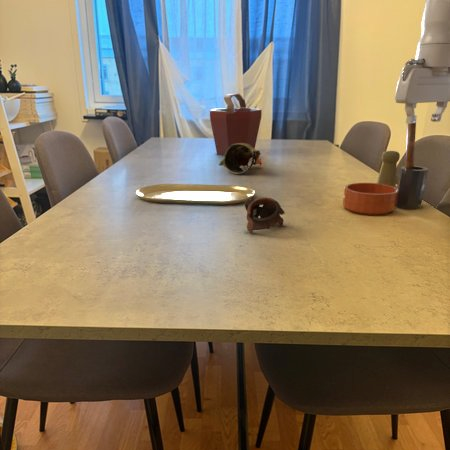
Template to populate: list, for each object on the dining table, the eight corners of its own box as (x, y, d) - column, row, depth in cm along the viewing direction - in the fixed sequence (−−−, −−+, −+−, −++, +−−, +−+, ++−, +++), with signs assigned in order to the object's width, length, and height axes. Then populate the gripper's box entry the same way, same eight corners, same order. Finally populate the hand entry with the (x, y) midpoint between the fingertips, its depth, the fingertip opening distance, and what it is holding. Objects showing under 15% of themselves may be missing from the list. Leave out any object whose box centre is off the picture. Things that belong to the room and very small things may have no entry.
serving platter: (147, 188, 138) (147, 183, 137) (256, 191, 133) (257, 185, 133) (127, 203, 121) (127, 197, 121) (251, 207, 117) (251, 201, 116)
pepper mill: (377, 189, 135) (382, 152, 130) (374, 184, 140) (379, 149, 135) (397, 189, 134) (403, 152, 129) (393, 185, 139) (400, 149, 134)
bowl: (385, 202, 121) (388, 182, 118) (402, 216, 109) (406, 194, 106) (337, 202, 121) (339, 182, 118) (349, 216, 109) (352, 194, 106)
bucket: (240, 159, 184) (240, 94, 172) (198, 155, 195) (196, 94, 183) (267, 151, 202) (269, 92, 191) (227, 148, 213) (227, 92, 201)
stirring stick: (410, 200, 118) (414, 114, 109) (413, 202, 116) (417, 114, 107) (402, 201, 118) (406, 115, 109) (405, 203, 116) (409, 115, 107)
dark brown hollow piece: (294, 230, 101) (292, 204, 94) (266, 254, 99) (261, 230, 92) (259, 207, 107) (255, 181, 100) (231, 229, 105) (225, 205, 98)
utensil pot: (414, 202, 121) (421, 165, 116) (424, 209, 115) (433, 170, 110) (390, 202, 121) (396, 165, 116) (399, 209, 115) (406, 170, 110)
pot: (275, 143, 162) (255, 132, 146) (279, 173, 163) (259, 165, 147) (234, 155, 171) (212, 146, 155) (238, 184, 171) (216, 177, 155)
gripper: (417, 58, 94) (405, 125, 101) (474, 59, 104) (459, 121, 110) (394, 59, 99) (384, 123, 106) (450, 60, 108) (438, 119, 115)
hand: (423, 122), depth 108 cm, fingers open, 8 cm apart
